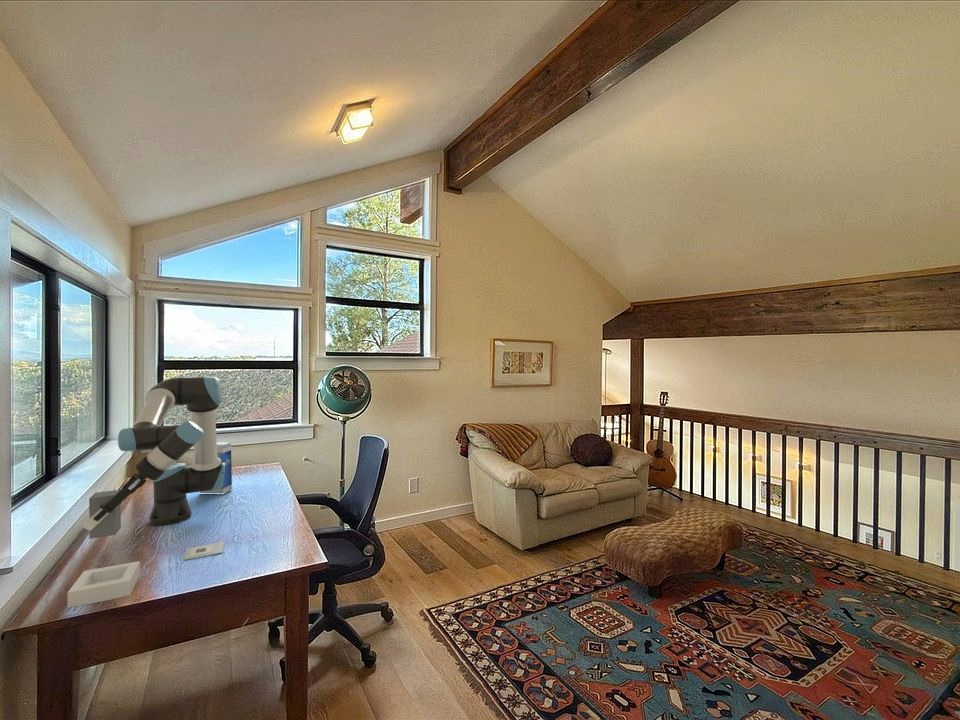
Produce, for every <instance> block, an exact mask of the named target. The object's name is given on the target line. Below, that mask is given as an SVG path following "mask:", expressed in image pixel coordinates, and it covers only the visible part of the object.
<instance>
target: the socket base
mask: <svg viewBox="0 0 960 720" xmlns="http://www.w3.org/2000/svg"><path fill="white" fill-rule="evenodd" d="M140 576H141V561H140V560H139V561H132V562H127V563H120V564H115V565H112V566H111V565H110V566H105V567H99V568H94V569H92V568H91V569H87V570H83V572H81V574H80V576H79V577H78V578H77V579H76V581H74V583H73V585H72V586H71V587H70V588H69V590H68V592H67V609H71V607H72V608H76V607H75V606H77V607H80V606H81V605H82V606H85V605H86V604H87V605H91V604H96V603H100V602H105V601H110V600H116V599H120V598H124V597H125V598H126V597H130V596H131V594H132V592H133V590H134V589H135V586H136V584H137V582H138V581H139V578H140Z"/></svg>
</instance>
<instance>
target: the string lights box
mask: <svg viewBox="0 0 960 720" xmlns="http://www.w3.org/2000/svg"><path fill="white" fill-rule="evenodd" d="M217 457H219V458H220V459H221V463H225V472H224V479H223V486H222V488H220V489H217V490H212V491H202V492H199V494H200V493H224V492H227V491H229V490H231V489H232V490H233V480H232V478H233V477H232V476H233V474H232V473H233V469H232V467H233V466H232V442H229V441H228V442H227V441H224V442H223V441H220V442H217Z"/></svg>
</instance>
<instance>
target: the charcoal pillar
mask: <svg viewBox="0 0 960 720" xmlns="http://www.w3.org/2000/svg"><path fill="white" fill-rule="evenodd" d="M120 490H121V489H117V490H116V489H115V490H108V491H107V490H106V491H99V492H97V491H96V492H95V493H94V494H92V495H91V496H90V497H88V505H89V506H88V510H89V511H88V512H89V513H88V516H89V517H88V519H90V518H91V517H92V516H93V515H94V514H95V513H96V512H97V511H98V510H99V509H101V508H100V506H101V505H102V506H105V505H106V504H107V503H108V502H109V501H110V500H111V499H112V498H113V497H114V496H116V495H117V494H118V493H119V492H120ZM121 505H122V504H119V505H118V506H117V507H116V508H115V509H114V510H112V512H111V513H109V514H108V515H107V516H106V517H105V518H104V519H103V520H102V521H101V522H100V523H98V524H97V525H96V526H95V527H94V528H93V529H92V530H91V531H89V539H90V540H93V539H97V538H104V537H111V536H116V535H117V534H118V532H119V531H120V530H121V528H122V523H121V522H122V521H121V520H122V518H121V517H122V516H121V514H122V513H121V512H122V511H121Z"/></svg>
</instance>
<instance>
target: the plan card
mask: <svg viewBox="0 0 960 720" xmlns="http://www.w3.org/2000/svg"><path fill="white" fill-rule="evenodd" d="M223 547H225V541H219V542H214V543H209V544H204V545H203V544H202V545H197V546H191V547H186V549H185V551H184V554H183V557H182V561H183V560H185V561H189V560H188V559H190V560H193V559H192V558H195V559H198V558H197V557H201V558H203V557H202V556H206V557H209V556H208V555H212V556H214V555H213V554H217V555H219V554H218V553H224V548H223Z"/></svg>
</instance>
